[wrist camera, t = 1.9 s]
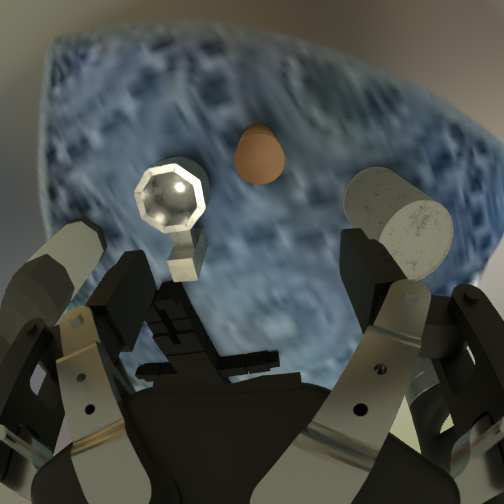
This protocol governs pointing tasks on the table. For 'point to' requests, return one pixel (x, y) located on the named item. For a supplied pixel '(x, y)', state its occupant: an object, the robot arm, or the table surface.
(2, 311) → the wine bottle
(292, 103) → the table surface
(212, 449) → the robot arm
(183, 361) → the toy
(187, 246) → the mug
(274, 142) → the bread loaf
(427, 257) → the speckled stone cylinder
